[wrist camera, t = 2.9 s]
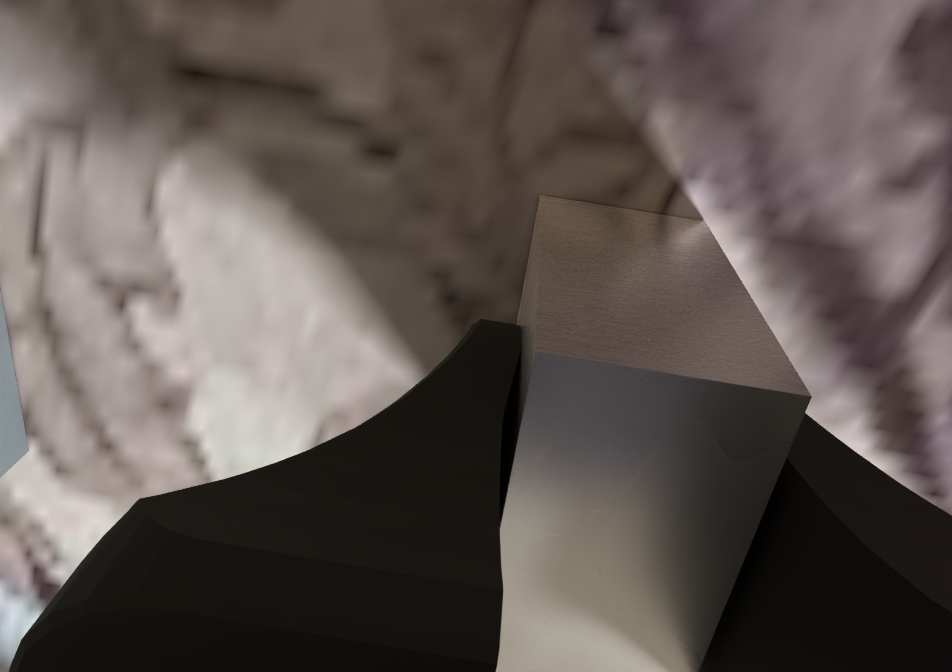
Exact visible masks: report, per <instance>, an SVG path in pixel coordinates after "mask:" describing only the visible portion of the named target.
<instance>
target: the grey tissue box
mask: <svg viewBox="0 0 952 672" xmlns="http://www.w3.org/2000/svg"><path fill="white" fill-rule="evenodd" d="M28 451H29V449H28V444H27V438H26V432H25V427H24V421H23V415H22V410H21V404H20V398H19V393H18V387H17V381H16V376H15V370H14V364H13V359H12V353H11V347H10V342H9V336H8V330H7V325H6V319H5V313H4V308H3V302H2V296H1V291H0V478H1V477H2V476H3V475H4V474H5V473H6V472H7V471H8V470H9V469H10V468H11V467H12V466H13V465H14V464H15V463H16V462H17V461H19V460H20V459H21V458H22V457H23V456H24V455H25V454H26V453H27V452H28Z"/></svg>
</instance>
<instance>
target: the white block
mask: <svg viewBox="0 0 952 672" xmlns="http://www.w3.org/2000/svg"><path fill="white" fill-rule="evenodd" d="M516 325H520V327H521V353H520V358H519V364H518V369H517V374H516V379H515V385H514V390H513V395H512V401H511V406H510V411H509V416H508V422H507V427H506V432H505V438H504V443H503V448H502V453H501V462H500V545H501V567H502V578H503V590H504V591H503V606H502V620H501V635H500V649H499V656H498V664H497V668H496V672H698V671H699V669H700V667H701V664H702V662H703V659H704V657H705V654H706V652H707V650H708V647H709V645H710V642H711V640H712V637H713V635H714V633H715V630H716V628H717V625H718V623H719V620H720V618H721V615H722V613H723V611H724V608H725V606H726V603H727V601H728V598H729V596H730V594H731V591H732V589H733V586H734V584H735V581H736V579H737V577H738V574H739V572H740V569H741V567H742V564H743V562H744V560H745V557H746V555H747V552H748V550H749V547H750V545H751V543H752V540H753V538H754V535H755V533H756V530H757V528H758V526H759V523H760V521H761V518H762V516H763V513H764V511H765V509H766V506H767V504H768V501H769V499H770V496H771V494H772V492H773V489H774V487H775V484H776V482H777V479H778V477H779V474H780V472H781V470H782V467H783V465H784V462H785V460H786V457H787V455H788V453H789V450H790V448H791V445H792V443H793V440H794V438H795V436H796V433H797V431H798V428H799V426H800V423H801V421H802V419H803V416H804V414H805V411H806V409H807V406H808V404H809V402H810V399H811V397H812V396H811V395H810V393H809V391H808V390H807V388H806V387H805V385H804V383H803V382H802V380H801V378H800V377H799V375H798V373H797V372H796V370H795V368H794V367H793V365H792V364H791V362H790V360H789V359H788V357H787V355H786V354H785V352H784V350H783V349H782V347H781V345H780V344H779V342H778V341H777V339H776V337H775V336H774V334H773V332H772V331H771V329H770V327H769V326H768V324H767V322H766V321H765V319H764V318H763V316H762V314H761V313H760V311H759V309H758V308H757V306H756V304H755V303H754V301H753V299H752V298H751V296H750V295H749V293H748V291H747V290H746V288H745V286H744V285H743V283H742V281H741V280H740V278H739V276H738V275H737V273H736V272H735V270H734V268H733V267H732V265H731V263H730V262H729V260H728V258H727V257H726V255H725V253H724V252H723V250H722V249H721V247H720V245H719V244H718V242H717V240H716V239H715V237H714V235H713V234H712V232H711V230H710V229H709V227H708V226H707V224H706V222H705V221H701V220H694V219H688V218H682V217H676V216H669V215H663V214H657V213H651V212H644V211H638V210H632V209H625V208H619V207H613V206H607V205H600V204H594V203H588V202H582V201H575V200H569V199H563V198H557V197H550V196H544V195H540V196H539V202H538V207H537V212H536V218H535V223H534V229H533V234H532V240H531V245H530V251H529V256H528V262H527V267H526V273H525V278H524V284H523V289H522V295H521V300H520V306H519V311H518V317H517V322H516Z"/></svg>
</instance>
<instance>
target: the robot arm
mask: <svg viewBox="0 0 952 672" xmlns="http://www.w3.org/2000/svg"><path fill="white" fill-rule="evenodd" d="M520 353H521V327H520V325H515V324H508V323H502V322H496V321H490V320H484V319H481V320H479V321H478V322H476V323H475V324H473V325H472V327H471V329H470V330H469V331H468V333H467V334H466V336H465V337H464V338H463V339H462V340H461V342H460V343H459V344H458V345H457V346H456V347H455V348H454V350H453V351H452V352H451V353H450V354H449V355H448V356H447V357H446V358H445V359H444V360H443V361H442V362H441V363H440V364H439V365H438V366H437V367H436V368H435V369H434V370H433V371H432V372H431V373H429V374H428V375H427V376H426V377H425V378H424V379H423V380H421V381H420V382H419V383H418V384H416V385H415V386H414V387H413V388H412V389H410V390H409V391H408V392H407V393H405V394H404V395H403V396H402V397H401V398H399V399H398V400H397V401H395V402H394V403H392V404H391V405H390V406H388V407H387V408H385V409H384V410H383V411H381V412H380V413H378V414H377V415H375V416H373V417H372V418H370V419H369V420H367V421H365V422H364V423H362V424H361V425H359V426H357V427H356V428H354V429H351V430H349V431H347V432H345V433H343V434H341V435H339V436H337V437H335V438H333V439H331V440H328V441H326V442H324V443H322V444H320V445H318V446H316V447H314V448H312V449H310V450H307V451H305V452H302V453H300V454H297V455H295V456H292V457H290V458H287V459H284V460H282V461H279V462H276V463H274V464H271V465H268V466H265V467H262V468H258V469H255V470H252V471H249V472H246V473H243V474H240V475H237V476H233V477H230V478H226V479H223V480H219V481H215V482H210V483H206V484H202V485H198V486H194V487H190V488H186V489H182V490H177V491H173V492H169V493H165V494H161V495H156V496H151V497H146V498H141V499H139V500H138V501H137V502H136V503H135V504H134V505H133V506H132V507H131V508H130V509H129V511H128V512H127V513H126V514H125V515H124V516H123V517H122V518H121V519H120V520H119V521H118V522H117V523H116V524H115V525H114V526H113V527H112V528H111V529H110V530H109V531H108V532H107V533H106V534H105V535H104V536H103V537H102V538H101V540H100V541H99V542H98V543H97V544H96V545H95V547H94V548H93V549H92V550H91V551H90V552H89V554H88V555H87V556H86V557H85V558H84V559H83V561H82V562H81V563H80V564H79V566H78V567H77V568H76V570H75V571H74V572H73V573H72V575H71V576H70V577H69V579H68V580H67V581H66V583H65V584H64V585H63V586H62V588H61V589H60V590H59V592H58V593H57V594H56V596H55V597H54V598H53V599H52V601H51V602H50V603H49V605H48V606H47V607H46V609H45V610H44V611H43V612H42V614H41V615H40V616H39V618H38V619H37V620H36V621H35V623H34V624H33V625H32V627H31V628H30V629H29V631H28V632H27V633H26V634H25V636H24V637H23V638H22V640H21V642H20V644H19V647H18V649H17V652H16V654H15V656H14V659H13V661H12V664H11V666H10V668H9V672H496V668H497V664H498V656H499V649H500V635H501V620H502V606H503V591H504V590H503V578H502V567H501V545H500V462H501V453H502V448H503V443H504V438H505V432H506V427H507V422H508V416H509V411H510V406H511V401H512V395H513V390H514V385H515V379H516V374H517V369H518V364H519V358H520ZM698 672H952V516H951V515H950V514H948V513H946V512H945V511H943V510H942V509H940V508H938V507H937V506H935V505H933V504H932V503H930V502H928V501H927V500H925V499H923V498H922V497H920V496H919V495H917V494H916V493H914V492H912V491H911V490H909V489H908V488H906V487H905V486H903V485H902V484H900V483H899V482H897V481H896V480H894V479H893V478H891V477H890V476H889V475H887V474H886V473H884V472H883V471H882V470H880V469H879V468H877V467H876V466H874V465H873V464H872V463H870V462H869V461H867V460H866V459H865V458H863V457H862V456H860V455H859V454H858V453H856V452H855V451H853V450H852V449H851V448H849V447H848V446H847V445H845V444H844V443H843V442H841V441H840V440H839V439H838V438H836V437H835V436H834V435H832V434H831V433H830V432H828V431H827V430H826V429H825V428H823V427H822V426H821V425H819V424H818V423H817V422H816V421H814V420H813V419H812V418H811V417H809V416H808V415H807V414H806V413H805V414H804V416H803V419H802V421H801V423H800V426H799V428H798V431H797V433H796V436H795V438H794V440H793V443H792V445H791V448H790V450H789V453H788V455H787V457H786V460H785V462H784V465H783V467H782V470H781V472H780V474H779V477H778V479H777V482H776V484H775V487H774V489H773V492H772V494H771V496H770V499H769V501H768V504H767V506H766V509H765V511H764V513H763V516H762V518H761V521H760V523H759V526H758V528H757V530H756V533H755V535H754V538H753V540H752V543H751V545H750V547H749V550H748V552H747V555H746V557H745V560H744V562H743V564H742V567H741V569H740V572H739V574H738V577H737V579H736V581H735V584H734V586H733V589H732V591H731V594H730V596H729V598H728V601H727V603H726V606H725V608H724V611H723V613H722V615H721V618H720V620H719V623H718V625H717V628H716V630H715V633H714V635H713V637H712V640H711V642H710V645H709V647H708V650H707V652H706V654H705V657H704V659H703V662H702V664H701V667H700V669H699V671H698Z"/></svg>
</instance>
